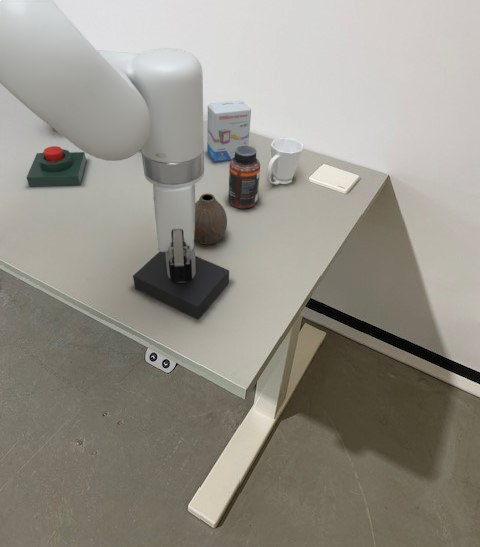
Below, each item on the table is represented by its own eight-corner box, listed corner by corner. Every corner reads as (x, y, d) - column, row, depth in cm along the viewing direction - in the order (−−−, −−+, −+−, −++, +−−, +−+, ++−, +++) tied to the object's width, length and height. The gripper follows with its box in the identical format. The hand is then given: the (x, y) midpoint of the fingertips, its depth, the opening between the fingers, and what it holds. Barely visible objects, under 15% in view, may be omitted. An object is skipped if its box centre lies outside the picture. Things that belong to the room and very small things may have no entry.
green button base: (29, 186, 86) (23, 169, 83) (39, 162, 93) (34, 145, 90) (80, 185, 87) (76, 168, 84) (86, 161, 94) (82, 144, 91)
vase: (191, 252, 73) (190, 211, 67) (186, 228, 78) (184, 187, 72) (230, 247, 75) (231, 206, 69) (222, 224, 80) (223, 184, 73)
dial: (184, 286, 63) (183, 260, 59) (161, 275, 65) (158, 249, 61) (201, 269, 66) (200, 244, 62) (178, 259, 67) (176, 233, 64)
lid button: (44, 162, 86) (41, 154, 84) (47, 154, 88) (45, 146, 87) (62, 162, 86) (60, 154, 85) (65, 153, 89) (63, 145, 87)
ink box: (214, 163, 96) (214, 112, 87) (207, 153, 99) (206, 103, 91) (248, 157, 98) (251, 108, 90) (240, 148, 102) (243, 99, 93)
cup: (304, 178, 93) (310, 144, 87) (280, 197, 87) (284, 162, 81) (278, 167, 96) (282, 133, 90) (252, 185, 90) (255, 150, 84)
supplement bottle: (263, 203, 85) (268, 152, 77) (241, 213, 82) (245, 161, 74) (243, 190, 88) (247, 139, 80) (222, 199, 85) (223, 148, 77)
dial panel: (135, 289, 66) (132, 275, 64) (169, 257, 72) (167, 243, 70) (198, 319, 63) (197, 306, 60) (228, 283, 68) (229, 270, 66)
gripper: (146, 131, 58) (157, 234, 70) (139, 201, 46) (154, 311, 58) (200, 130, 58) (202, 233, 71) (208, 199, 46) (208, 308, 59)
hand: (181, 267), depth 65 cm, fingers closed on dial, 4 cm apart
